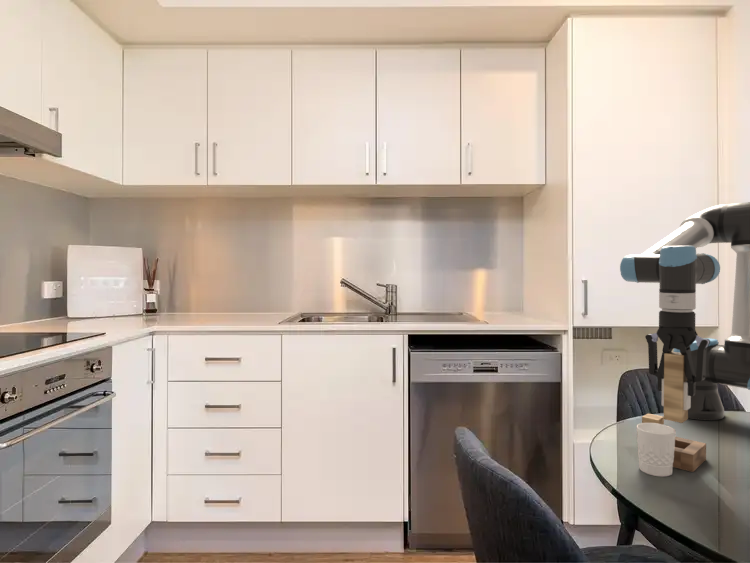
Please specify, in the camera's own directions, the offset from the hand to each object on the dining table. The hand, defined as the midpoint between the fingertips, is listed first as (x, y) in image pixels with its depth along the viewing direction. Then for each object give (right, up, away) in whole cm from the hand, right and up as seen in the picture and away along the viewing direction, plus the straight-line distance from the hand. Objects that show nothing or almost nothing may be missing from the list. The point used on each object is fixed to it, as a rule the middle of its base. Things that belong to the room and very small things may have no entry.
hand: (675, 406), depth 122 cm
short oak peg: (+1, -13, +12) cm, 18 cm away
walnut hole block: (+1, -13, +1) cm, 13 cm away
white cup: (-8, -14, -5) cm, 17 cm away
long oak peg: (0, -3, 0) cm, 3 cm away
